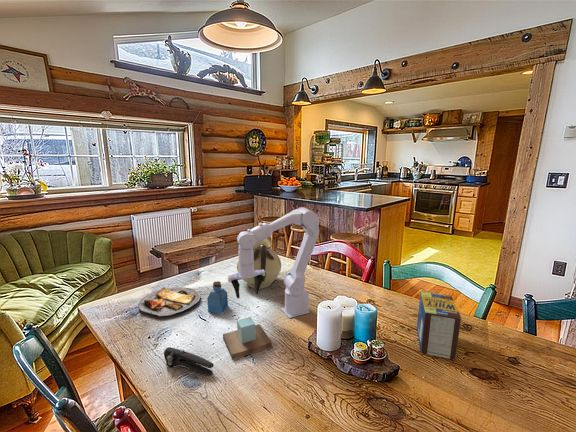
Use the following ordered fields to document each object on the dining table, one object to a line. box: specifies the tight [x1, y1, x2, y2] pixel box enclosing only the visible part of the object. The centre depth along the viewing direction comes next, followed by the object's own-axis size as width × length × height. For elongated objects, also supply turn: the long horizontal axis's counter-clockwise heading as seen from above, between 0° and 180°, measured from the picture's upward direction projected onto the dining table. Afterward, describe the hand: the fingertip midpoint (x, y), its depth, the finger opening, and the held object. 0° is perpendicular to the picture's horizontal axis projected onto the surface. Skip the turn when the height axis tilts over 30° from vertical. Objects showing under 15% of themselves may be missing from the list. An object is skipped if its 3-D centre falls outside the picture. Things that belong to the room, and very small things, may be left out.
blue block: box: [236, 316, 256, 343], centre depth 100 cm, size 5×5×6 cm
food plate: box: [137, 286, 201, 317], centre depth 127 cm, size 25×23×4 cm
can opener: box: [163, 346, 215, 377], centre depth 89 cm, size 18×7×6 cm, turn 67°
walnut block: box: [222, 323, 273, 360], centre depth 100 cm, size 14×12×2 cm
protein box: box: [416, 291, 462, 361], centre depth 99 cm, size 10×15×16 cm
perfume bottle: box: [206, 281, 229, 314], centre depth 121 cm, size 6×6×12 cm
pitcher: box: [236, 236, 282, 289], centre depth 144 cm, size 22×24×25 cm
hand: (247, 295), depth 113 cm, fingers open, 7 cm apart
